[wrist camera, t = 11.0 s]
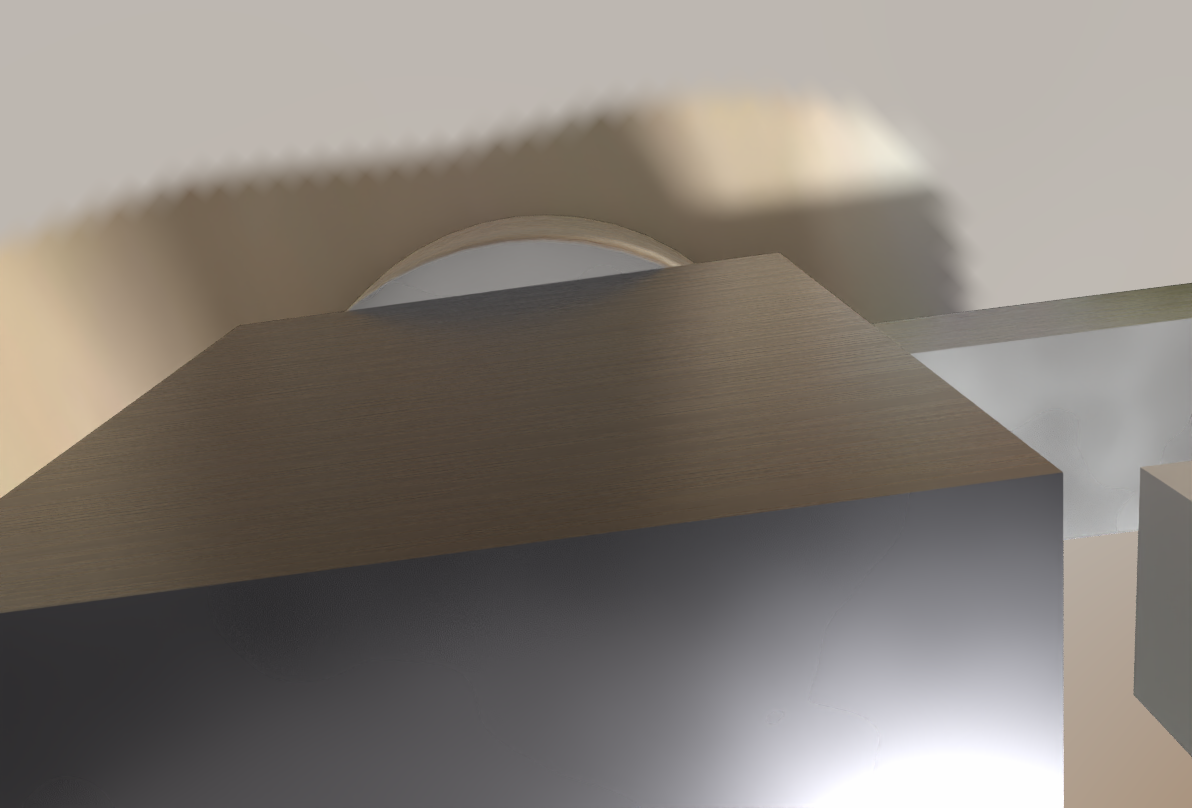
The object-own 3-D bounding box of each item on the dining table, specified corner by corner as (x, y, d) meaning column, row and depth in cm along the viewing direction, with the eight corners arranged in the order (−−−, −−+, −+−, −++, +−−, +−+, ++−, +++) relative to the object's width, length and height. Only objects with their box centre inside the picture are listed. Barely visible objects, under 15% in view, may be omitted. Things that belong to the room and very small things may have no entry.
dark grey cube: (778, 252, 13) (1062, 471, 6) (817, 722, 15) (1063, 1348, 8) (238, 325, 13) (-193, 637, 6) (347, 783, 15) (133, 1462, 8)
